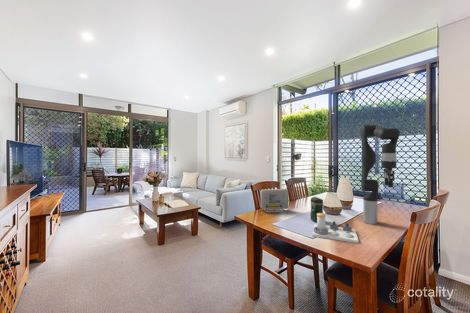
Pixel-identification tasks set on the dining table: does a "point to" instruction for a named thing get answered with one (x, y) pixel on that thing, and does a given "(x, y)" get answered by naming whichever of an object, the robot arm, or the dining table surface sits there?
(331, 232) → the panel
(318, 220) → the post
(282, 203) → the network device
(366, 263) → the dining table surface
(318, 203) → the coffee jar
